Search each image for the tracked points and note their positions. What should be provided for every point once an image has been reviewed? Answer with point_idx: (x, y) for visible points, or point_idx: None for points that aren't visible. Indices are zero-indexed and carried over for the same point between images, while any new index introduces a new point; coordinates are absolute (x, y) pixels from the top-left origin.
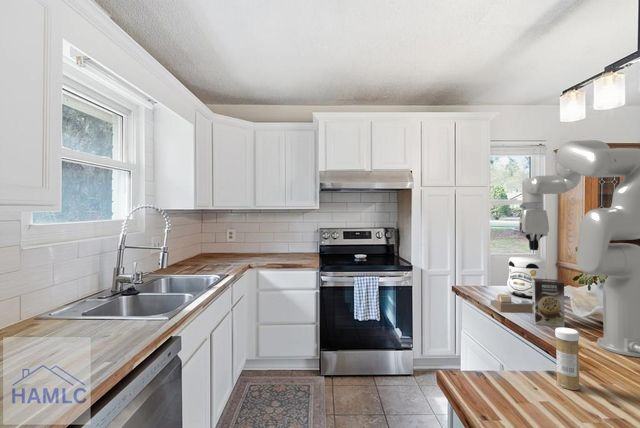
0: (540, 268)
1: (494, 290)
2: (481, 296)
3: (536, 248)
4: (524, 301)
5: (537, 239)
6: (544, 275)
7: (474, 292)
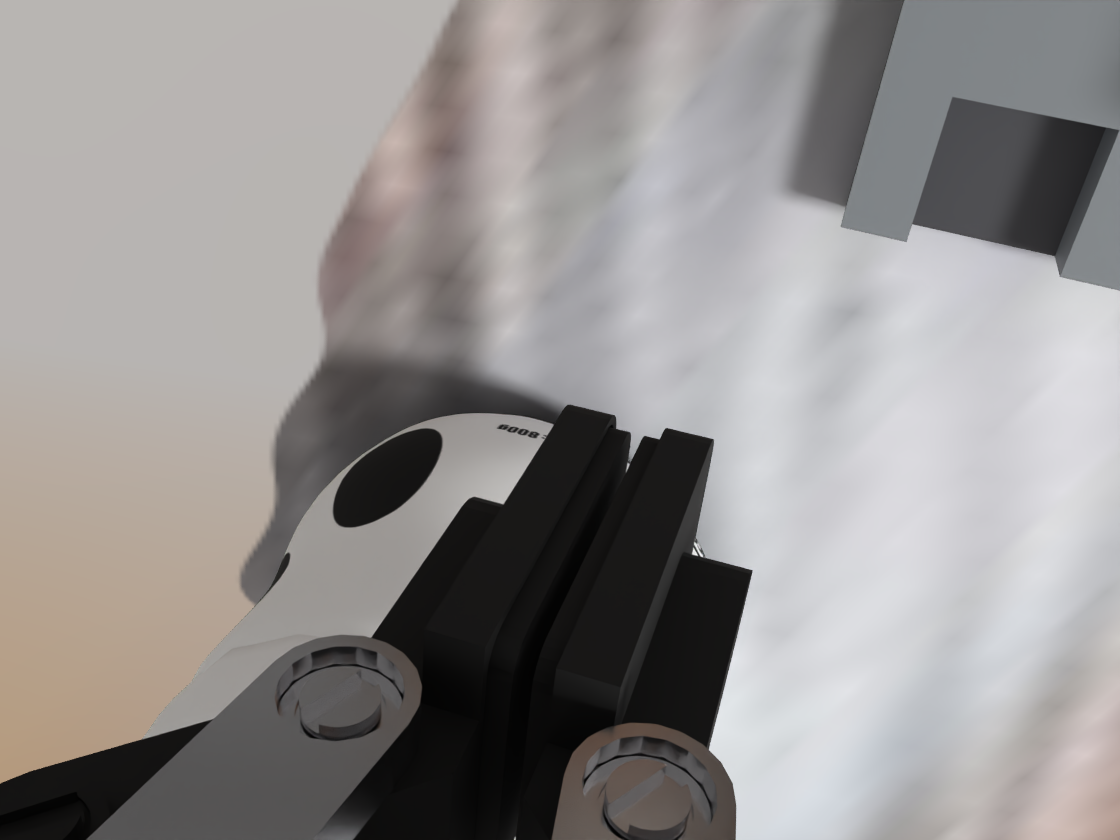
0: (313, 635)
1: (752, 804)
2: (1113, 671)
3: (596, 449)
4: (897, 202)
5: (382, 704)
6: (301, 574)
7: (1054, 819)
